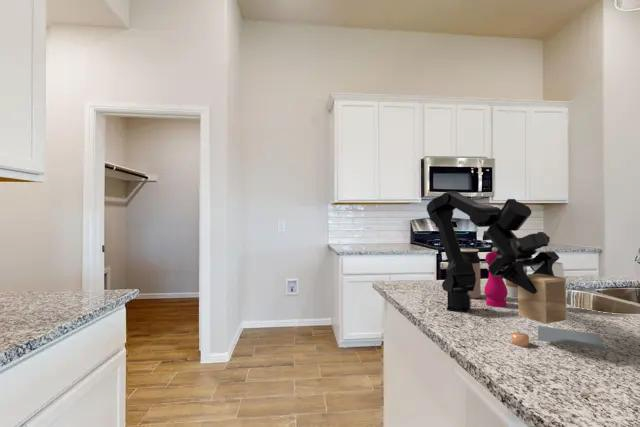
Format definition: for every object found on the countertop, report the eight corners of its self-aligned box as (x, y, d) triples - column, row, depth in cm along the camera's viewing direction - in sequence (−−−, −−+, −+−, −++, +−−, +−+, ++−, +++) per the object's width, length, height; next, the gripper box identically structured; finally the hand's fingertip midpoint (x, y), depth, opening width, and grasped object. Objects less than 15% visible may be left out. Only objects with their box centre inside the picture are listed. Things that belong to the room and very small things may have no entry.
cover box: (518, 315, 84) (517, 275, 84) (538, 312, 86) (537, 273, 86) (545, 323, 77) (544, 280, 77) (566, 320, 80) (565, 278, 80)
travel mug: (474, 293, 133) (473, 248, 133) (484, 298, 125) (483, 250, 125) (454, 294, 133) (453, 248, 133) (463, 299, 125) (462, 250, 125)
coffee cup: (525, 293, 131) (524, 255, 132) (531, 298, 123) (530, 257, 124) (501, 292, 134) (500, 254, 134) (506, 297, 126) (505, 257, 126)
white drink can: (569, 311, 107) (567, 264, 107) (544, 310, 108) (543, 264, 108) (558, 305, 114) (557, 261, 114) (535, 304, 115) (534, 261, 115)
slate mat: (537, 341, 83) (537, 339, 83) (538, 327, 93) (538, 325, 93) (606, 352, 76) (606, 350, 76) (598, 335, 86) (598, 334, 86)
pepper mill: (480, 302, 120) (479, 246, 120) (499, 301, 121) (498, 245, 121) (492, 307, 113) (490, 248, 113) (512, 306, 113) (511, 247, 113)
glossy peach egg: (511, 346, 80) (510, 336, 80) (512, 341, 83) (512, 331, 83) (528, 349, 78) (528, 338, 78) (529, 344, 81) (529, 334, 81)
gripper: (496, 222, 83) (540, 274, 72) (551, 220, 89) (598, 268, 78) (473, 251, 90) (509, 302, 80) (524, 247, 96) (564, 294, 86)
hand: (546, 291), depth 81 cm, fingers closed on cover box, 7 cm apart
